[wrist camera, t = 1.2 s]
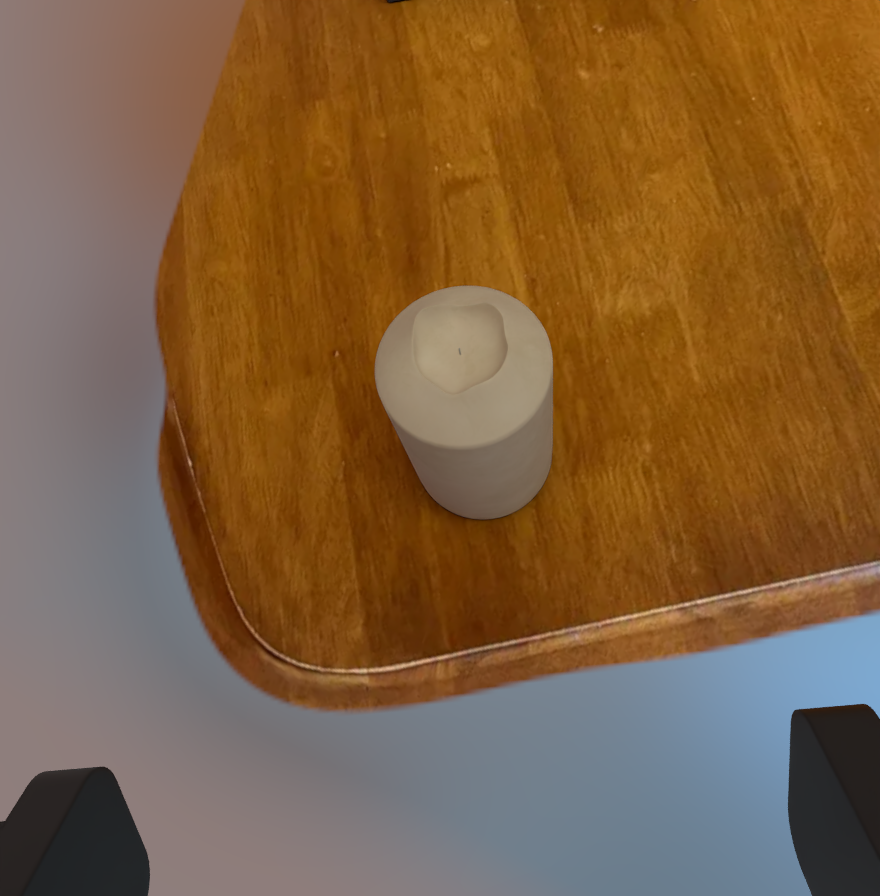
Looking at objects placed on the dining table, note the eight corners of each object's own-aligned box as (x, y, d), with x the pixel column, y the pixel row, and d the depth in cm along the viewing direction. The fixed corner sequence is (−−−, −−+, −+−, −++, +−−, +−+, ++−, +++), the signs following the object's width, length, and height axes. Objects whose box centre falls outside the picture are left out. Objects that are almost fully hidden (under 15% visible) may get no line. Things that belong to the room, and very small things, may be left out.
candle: (389, 455, 33) (327, 343, 24) (486, 368, 34) (462, 227, 25) (480, 550, 32) (451, 468, 22) (581, 456, 32) (593, 338, 23)
